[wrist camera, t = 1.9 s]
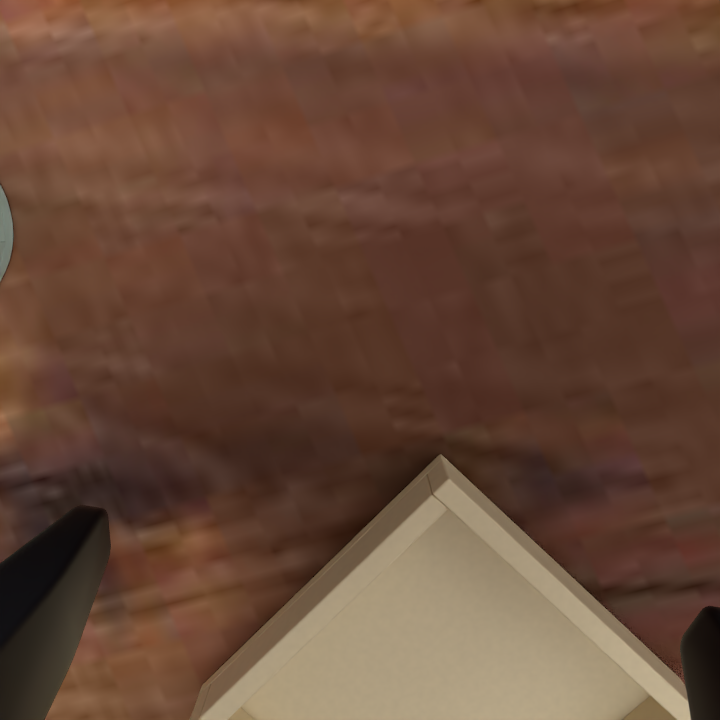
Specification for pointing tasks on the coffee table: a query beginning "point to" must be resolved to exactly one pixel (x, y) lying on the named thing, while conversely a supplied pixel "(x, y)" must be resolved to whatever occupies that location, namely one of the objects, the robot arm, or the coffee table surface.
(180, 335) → the coffee table surface
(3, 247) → the cup
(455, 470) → the tray
